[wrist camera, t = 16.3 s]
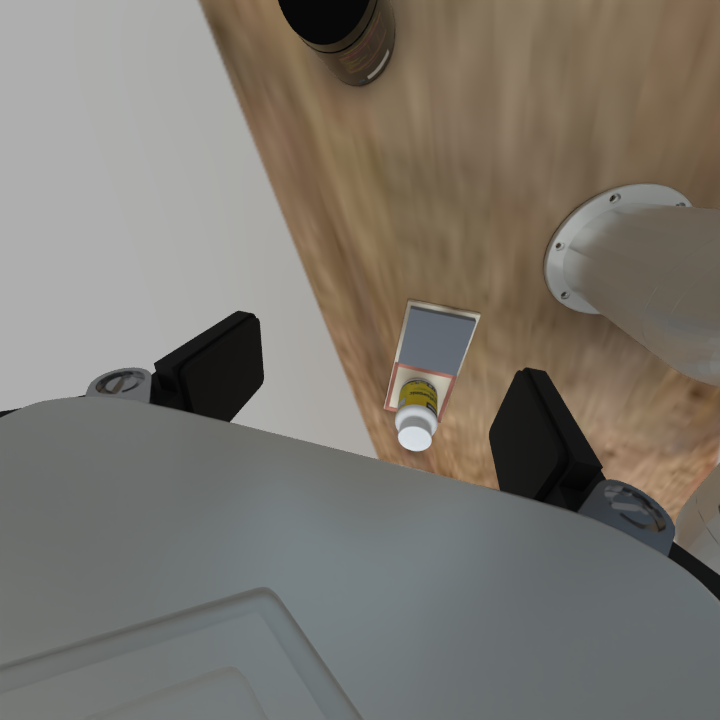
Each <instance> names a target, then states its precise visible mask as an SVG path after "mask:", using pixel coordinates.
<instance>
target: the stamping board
mask: <svg viewBox="0 0 720 720" xmlns="http://www.w3.org/2000/svg"><path fill="white" fill-rule="evenodd" d="M411 305H412V306H417V307H422V308H427V309H432V310H437V311H442V312H447V313H452V314H456V315H461V316H466V317H471V318H475V320H476V324H475V327H474V329H473V332H472V335H471V338H470V340H469V343H468V346H467V348H466V351H465V354H464V357H463V359H462V362H461V365H460V367H459V370H458V373H457V376H454V375H449V374H445V373H441V372H436V371H432V370H427V369H423V368H418V367H414V366H410V365H405V364H401V363H398V360H399V355H400V351H401V347H402V342H403V338H404V334H405V329H406V325H407V321H408V317H409V312H410V308H411ZM480 316H481V315H480V313H477V312H472V311H467V310H462V309H457V308H452V307H447V306H442V305H437V304H432V303H427V302H422V301H417V300H412V299H408V303H407V308H406V312H405V317H404V321H403V326H402V330H401V334H400V339H399V343H398V348H397V352H396V357H395V361H394V366H393V370H392V375H391V379H390V383H389V388H388V392H387V397H386V401H385V406H384V409H386V410H390V411H394V412H397V407H398V401H399V395H400V391H401V388H402V386H403V385H404V384H405V383H406V382H407V381H409V380H411V379H417V378H419V379H424V380H427V381H429V382H430V383H432V384H433V385H434V387H435V388H436V390H437V396H438V422H439V423H440V422H441V421H442V418H443V415H444V413H445V410H446V407H447V405H448V402H449V399H450V396H451V394H452V391H453V388H454V386H455V383H456V380H457V378H458V375H459V372H460V369H461V367H462V364H463V361H464V359H465V356H466V353H467V351H468V348H469V345H470V343H471V340H472V337H473V334H474V332H475V329H476V326H477V324H478V321H479V318H480Z"/></svg>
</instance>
